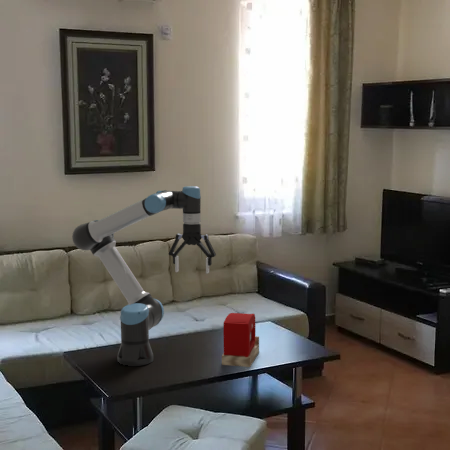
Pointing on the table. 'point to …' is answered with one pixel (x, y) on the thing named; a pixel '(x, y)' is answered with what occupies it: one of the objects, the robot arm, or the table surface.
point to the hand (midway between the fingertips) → (192, 272)
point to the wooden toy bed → (242, 357)
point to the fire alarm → (239, 334)
